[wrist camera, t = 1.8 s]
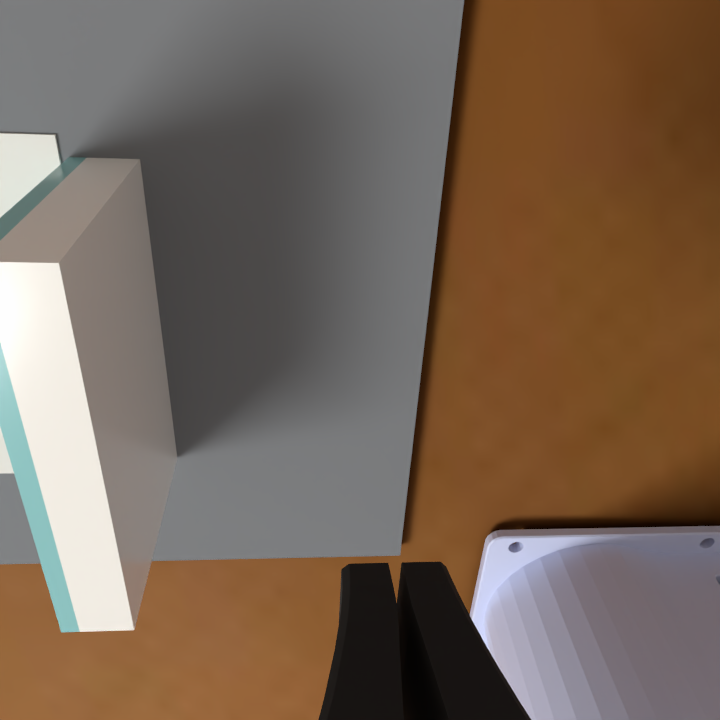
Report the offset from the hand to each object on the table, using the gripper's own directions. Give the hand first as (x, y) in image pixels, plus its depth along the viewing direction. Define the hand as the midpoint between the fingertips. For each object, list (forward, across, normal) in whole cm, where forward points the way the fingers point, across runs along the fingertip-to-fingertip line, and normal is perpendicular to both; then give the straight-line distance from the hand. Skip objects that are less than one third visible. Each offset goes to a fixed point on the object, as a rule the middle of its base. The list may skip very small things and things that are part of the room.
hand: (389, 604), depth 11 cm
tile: (+9, +6, 0) cm, 11 cm away
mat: (+9, +6, 0) cm, 11 cm away
